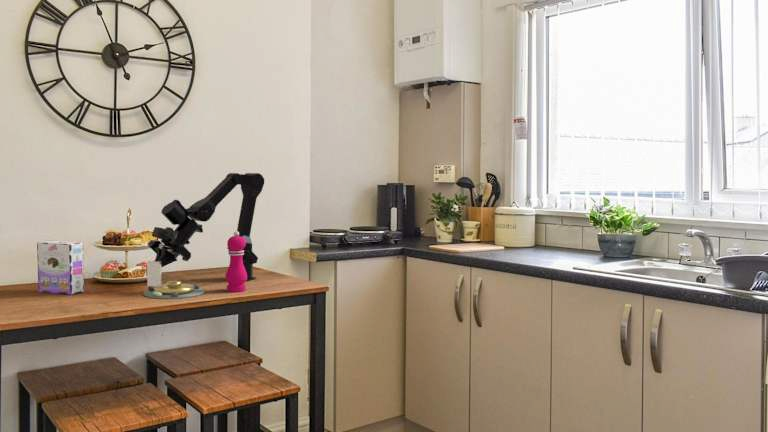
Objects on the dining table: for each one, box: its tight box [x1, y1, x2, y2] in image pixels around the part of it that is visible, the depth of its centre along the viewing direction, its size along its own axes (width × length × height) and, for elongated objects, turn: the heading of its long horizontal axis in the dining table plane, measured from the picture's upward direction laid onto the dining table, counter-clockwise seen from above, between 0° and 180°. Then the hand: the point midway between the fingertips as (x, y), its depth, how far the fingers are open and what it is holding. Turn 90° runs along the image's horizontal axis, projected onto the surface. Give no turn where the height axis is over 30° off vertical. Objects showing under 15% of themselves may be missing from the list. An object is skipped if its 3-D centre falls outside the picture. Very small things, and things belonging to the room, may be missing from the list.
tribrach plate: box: [143, 284, 205, 300], centre depth 218 cm, size 19×19×2 cm
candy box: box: [36, 240, 85, 295], centre depth 216 cm, size 14×6×16 cm, turn 71°
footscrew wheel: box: [146, 260, 195, 294], centre depth 218 cm, size 15×13×9 cm
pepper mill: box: [224, 230, 247, 293], centre depth 224 cm, size 7×7×20 cm
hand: (153, 269), depth 219 cm, fingers closed
